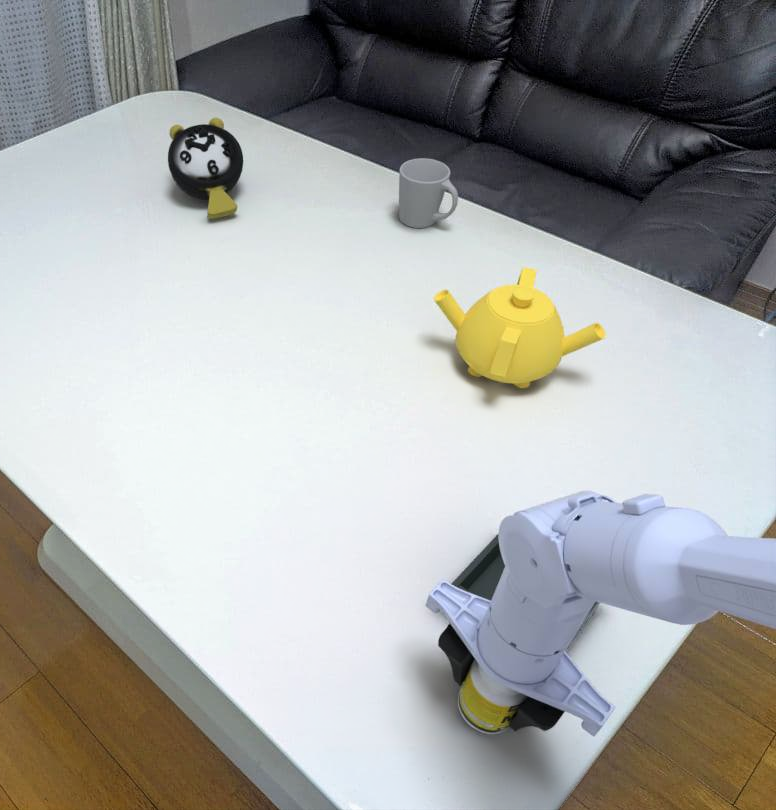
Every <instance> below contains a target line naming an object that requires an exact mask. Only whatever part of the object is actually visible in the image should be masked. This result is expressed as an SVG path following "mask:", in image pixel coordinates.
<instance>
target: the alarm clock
mask: <svg viewBox="0 0 776 810" xmlns="http://www.w3.org/2000/svg"><path fill="white" fill-rule="evenodd" d="M224 128H225V124H224V121H223V120H222V119H221V118H219V117H212V118H211V119H210V120H209V122H208V124H206V123H205V124H204V123H202V124H195V125H191V126H188V127H187V128H184V127H183V126H182V125H181V124H174V125H172V126H171V127H170V128H169V136H170V139H171V142H170V144H169V147H168V152H167V164H168V170H169V172H170V174H171V177H172V179H173V181H174V182H175V184H176V186H177V187H178V188H179V189H180V190H181V191H182V192H183V193H185V194H186V195H188V196H189V197H192V198H194V199H198V200H204V201H208V206H207V219H210V220H215V219H219V218H223V217H227V216H232V215H234V214H235V213H236V212H237V210H238V204H237V203H236V201H235V200H234V199H232V198H231V196H230V195H229V194H228V193H230V192H231V191H232V190H233V189H234V188H235V187H236V185H237V184H238V182H239V180H240V178H241V176H242V172H243V169H244V155H243V149H242V147H241V145H240V142H239V141H238V140H237V138H236V137H235V136H234V135H233V134H232V133H230V131H228V130H227V129H224Z"/></svg>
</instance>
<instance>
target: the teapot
mask: <svg viewBox="0 0 776 810" xmlns="http://www.w3.org/2000/svg"><path fill="white" fill-rule="evenodd" d="M537 272H538V269H537V268H531V267H523V266H522V268H521V270H520V274H519V277H518V280H517V284H504V285H500V286H498V287H496V288H494V289H492V290H491V291H489V292H487V293H486V294H485V295H483V296H482V297H480V298H479V299H478V300H477V301H476V302H475V303H474V304H473V305H472V306H471V307H470V308H469V309H468V310H467V311H466V313H465V312H464V311H463V309H462V308H461V306H460V305H459V304H458V302H457V301H456V299H455V298H454V296H453V295H452V293H451V292H450V291H449V289H442V290H441V291H439V292H437V293H436V294H435V295H434V297H433V301H434V302H435V304H436V305H437V307H438V308H439V309H440V310H441V312H442V313H443V314H444V316H445V317H446V319H447V321H449V323H450V324H451V325H452V327H453V328H454V329H455V331H456V333H455V344H456V349H457V352H458V354H459V355H460V357H461V358H462V360H463V361H464V362H465V363H466V364H467V365H468V368H467V373H469V374H470V375H471V376H473V377H477V378H479V377H480V378H481V377H484V378H486V379H489V380H492V381H495V382H499V383H504V384H513V385H514V386H515V387H517V388H520V389H526V388H529V387H530V386H531V382H533V381H536V380H539V379H542V378H544V377H546V376H548V375H550V374H551V373H552V372H553V371H554V370H555V369H556V368H557V367H558V366H559V365H560V363H561V361H562V358H563V357H565V356H567V355H570V354H571V353H573V352H576V351H578V350H581V349H584V348H585V347H588V346H590V345H592V344H595V343H597V342H600V341H601V340H604V339H606V331H605V329H604V327H603V326H602V324H600V323H599V322H594V323H591V324H590V325H588V326H586V327H584V328H582V329H580V330H578V331H575V332H574V333H571V334H569V335H567V336H565V331H564V325H563V322H562V319H561V317H560V315H559V312H558V310H557V308H556V305H555V304H554V302H553V300H552V299H551V298H550V297H549V295H547V294H546V293H545V292H542V291H541V290H539V289H538V288H535V282H536V277H537Z"/></svg>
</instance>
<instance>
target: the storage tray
mask: <svg viewBox="0 0 776 810" xmlns="http://www.w3.org/2000/svg"><path fill="white" fill-rule="evenodd" d="M504 568H505V564H504V561H503V559H502V555H501V552H500V547H499V539H498V533H497V534H496V535H495V536H494V537H493V539H492V540H491V541H490V542H489V543H487V545H486V546H485V547H484V548H483V549H482V550H481V551H480V552H479V554H477V556H476V557H475V558H474V559H473V560H472V561H471V562H470V563H469V564H468V565H467V566H466V567H465V568H464V570H463V571H462V572H461V573H460V574H459V575H457V577H456V578H455V579H454V580H453V581H452V582H451V584H452V585H453V586H455V587H457V588H459V589H461V590H464V591H466V592H469V593H471V594H474V595H477V596H479V597H482V598H485V599H487V600H490V601H491V600H492V597H493V595H494V592H495V590H496V588H497V585H498V583H499V580H500V578H501V576H502V573H503V571H504ZM600 604H601V603H600V602H595V603H594V605H593V607H592V608H591V610H590V612H589V613H588V615H587V616H586V618H585V620H584V621H583V623H582V625H581V626H580V628H579V629H578V631H577V633H576V634H575V636H574V638H573V639H572V641H573V640H574V639H575V638H576V636H577V635H578V634H579V632H580V631H581V630H582V628H584V626H585V624H587V622H588V620H589V619H590V618H591V617H592V616H593V614H594V613H595V611H596V610H597V609H598V607H599V605H600Z"/></svg>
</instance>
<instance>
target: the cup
mask: <svg viewBox="0 0 776 810" xmlns="http://www.w3.org/2000/svg"><path fill="white" fill-rule="evenodd" d="M398 175H399V176H398V178H399V179H398V210H399V211H398V212H399V215H398V216H399V217H398V219H399V220H400V222H401V223H402V224H403V225H405V226H407V227H410V228H414V229H423V228H427V227H430V226H432V225H433V224H435V222H438V221H439V222H440V221H443V220H446V219H447V218H449V217H450V216H451V215H453V213H454V212H455V211H456V209H457V206H458V204H459V203H458V202H459V194H458V190H457V188H456V187H455V186H454V184H453V183H452V182H451V180H450V177H451V169H450V167H449V166H448V165H447V164H445V163H443V162H442V161H440V160H437V159H433V158H424V157H423V158H421V157H419V158H412V159H409V160H407V161H405V162H404V163H402V164H401V165H400V167H399V174H398ZM446 191H448V192H449V193H450V195H451V198H452V201H451V202H452V204H451V207H450V210H449V211H447V212H444V213H443V212H440V208H441V206H442V202H443V200H444V197H445V193H446Z"/></svg>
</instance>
